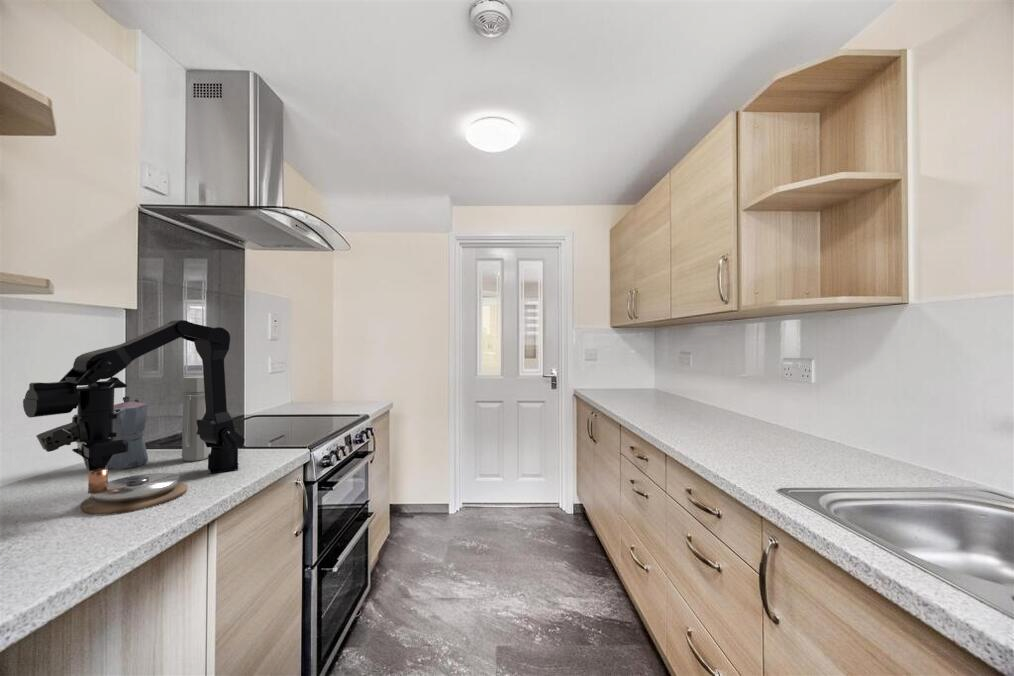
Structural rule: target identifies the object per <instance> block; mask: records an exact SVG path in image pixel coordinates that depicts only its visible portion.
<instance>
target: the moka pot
mask: <svg viewBox="0 0 1014 676" xmlns="http://www.w3.org/2000/svg"><path fill="white" fill-rule="evenodd" d="M130 398H131V397H130V396H124V397H122V401H123V402H120V403H116V404H114V413H116V414H117V418H116V419H114V424H113V431H115V432H117V433H116V437H119V438H121V439H123V440H125V441H126V442H128V452H125V453H119V454H113V456H112V457H111V459H110V460H109V462H108V463H107V465H106V468H109V469H108V470H111V469H118V470H125V469H124V468H128V469H132V468H131V467H133V468H136V466H137V467H140V466H143V465H145V464H146V463H147V462H148V461H149V455H148V452H147V447H146V443H145V442H146V441H145V437H144V431H145V428H146V422H147V421H146V420H147V413H148V404H147V402H140V401H139V399H135V400H133V401H130ZM112 438H114V437H112Z"/></svg>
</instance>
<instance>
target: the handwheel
mask: <svg viewBox="0 0 1014 676" xmlns="http://www.w3.org/2000/svg"><path fill="white" fill-rule="evenodd" d="M108 472H109V469H108V468H107V467H105V468H100V469H94V470H90V471H89V474H88V477H87V478H88V479H87V480H88V482H87V483H88V486H87V487H88V489H87V490H88V491H87V493H88V494H90V497H91V499H92V500H93V501H97V502H119V501H128V500H134V499H140V498H144V497H149V496H153V495H157V494H160V493H163V492H166V491H168V490H171V489H173V488H175V487H176V486H178V484H179V482H180V475H179V474H177V473H173V472H153V473H151V472H150V473H143V474H137V475H132V476H126V477H121V478H116V479H112V480H110V481H108V480H109V475H108V474H109V473H108Z"/></svg>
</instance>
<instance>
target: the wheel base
mask: <svg viewBox="0 0 1014 676" xmlns="http://www.w3.org/2000/svg"><path fill="white" fill-rule="evenodd" d="M187 490H188V484H187V483H185V482H183V481H182V482H181V481H179V484H178V486H176V487H175V488H173V489H171V490H168V491H166V492H163V493H160V494H157V495H153V496H149V497H144V498H140V499H134V500H128V501H119V502H97V501H93V500H92V499H91V496H89V497H87V498H86V499H84V500H83V501H82V502H80V511H81V513H83V514H86V515H87V514H88V515H94V514H106V515H115V514H114V513H117V514H123V513H122V512H125V513H130V512H129V511H131V512H135V510H137V511H139V510H140V509H142V510H145V509H144V508H146V509H149V508H148V507H150V508H154V507H157V506H156V505H158V506H160V505H159V504H161V505H164V504H167V503H169V501H170V502H172V501H174V499H175V500H176V498H177V499H178V497H179V498H181V497H183V496H184V495H185V494H186V493H187ZM183 494H184V495H183ZM180 496H181V497H180ZM171 500H172V501H171ZM166 502H167V503H166ZM163 503H164V504H163ZM153 506H154V507H153Z"/></svg>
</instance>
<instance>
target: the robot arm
mask: <svg viewBox="0 0 1014 676" xmlns="http://www.w3.org/2000/svg"><path fill="white" fill-rule="evenodd" d="M180 338H181V339H183V340H186V341H190V342H192V343H194V347H195V350H196V353H198V356H199V357H200V359H201V361H202V371H203V374H202V376H204V392H205V408H206V412H205V415H204V417H203V419H200V420H197V426H198V431H197V434H198V435H199V436H200V439H201V440H203V441H204V442H205V444H206V447H211V453H209V455H208V458H207V470H208V471H209V474H215V473H223V472H231V471H232V472H233V471H238V470H239V448H242V447H244V444H245V440H246V439H245V437H243V436H242V435H240V434H239V433H238V432H236V427H235V422H234V419H233V418H232V416H231V414H230V413H229V411H228V406H227V389H226V388H227V387H226V374H225V373H226V371H225V370H226V369H225V358H226V357H227V354H228V353H229V350H230V344H231V335H230V332H229V331H228V330H227V329H225V328H223V327H219V326H217V327H213V326H212V327H211V326H206V325H203V324H202V325H201V324H197V323H193V322H191V321H188V320H186V319H179V320H178V319H177V320H170V321H169V322H168V323H166V324H163V325H162V326H160V327H157V328H155V329H153V330H150V331H148V332H145V333H143V334H140V335H139V336H136V337H134V338H131V339H130V340H128V341H125V342H122V343H120V344H117V345H113V346H109V347H104V348H99V349H96V350H91V351H88V352H85V353H84V352H83V353H81V354H80V355H78V356H76V357H75V359H74V360H73V361H74V362H73V365H72V367H71V369H70V370H69V371H67V373H66V374H65V375H64V376H63V377H62V378H61V379H60V380H59V381H57V382H55V381H53V382H29V384H28V385H29V387H28V390H26V393H25V395H24V398H23V399H22V406H23V411H24V413H25V415H26V417H28V418H29V419H31V418H38V417H39V418H40V417H47V416H55V415H62V414H63V415H64V414H70V413H72V411H73V410H75V409H77V413H76V414H74V415H73V416H72V418H71V419H72V421H71V422H70V423H66V424H62V425H60V426H57V427H55V428H52V429H49V430H46V431H44V432H41V433H38V434H36V436H35V437H36V438H37V440H38V441H39V444H40V446H41V447H42V450H45V451H46V452H48V453H49V452H53V451H57V450H58V449H60V448H61V447H64V446H71V444H72V443H76V444H77V448H72V449H71V451H72V452H74V453H76V454H77V455H78V456H80V457H82V459H83V461H84V464H85V468H86V471H87V473H88V474H89V471H90V470H94V469H100V468H107V463H108V462H109V460H110V459H111V457H112V456H113V454H119V453H125V452H128V442H126V441H125V440H123V439H121V438H119V437H116V433H117V432H115V431H113V424H114V419H116V418H117V414H116V413H114V405H115V389H124V388H127V386H128V385H127V384H126V383H125V382H123V381H121V380H120V379H119V378H118V377H116V375H117V374H119V373H120V372H122V371H123V370H125V369H126V368H127V367H128V366H129V365H130V364H131V363H132V362H133V361H135V360H136V359H138V358H140V357H142V356H144V355H146V354H148V353H151V352H153V351H154V350H156V349H158V348H161V347H163V346H165V345H168V344H170V343H171V342H173V341H175V340H178V339H180ZM112 437H114V438H112Z"/></svg>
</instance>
